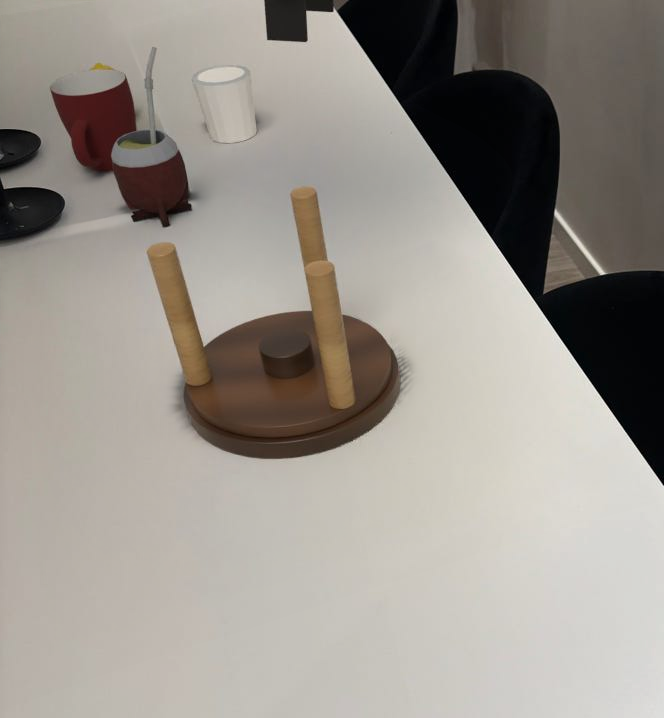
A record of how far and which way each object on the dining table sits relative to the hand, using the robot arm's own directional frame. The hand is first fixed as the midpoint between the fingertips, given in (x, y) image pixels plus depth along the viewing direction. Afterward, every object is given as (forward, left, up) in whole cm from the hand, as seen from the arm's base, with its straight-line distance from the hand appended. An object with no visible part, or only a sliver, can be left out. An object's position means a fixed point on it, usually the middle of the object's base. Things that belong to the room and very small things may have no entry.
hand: (303, 25), depth 73 cm
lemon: (-51, -15, -23) cm, 58 cm away
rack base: (+13, -8, -23) cm, 27 cm away
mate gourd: (-25, -13, -23) cm, 36 cm away
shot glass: (-43, -2, -23) cm, 49 cm away
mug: (-37, -17, -23) cm, 47 cm away
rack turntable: (+13, -8, -21) cm, 26 cm away
